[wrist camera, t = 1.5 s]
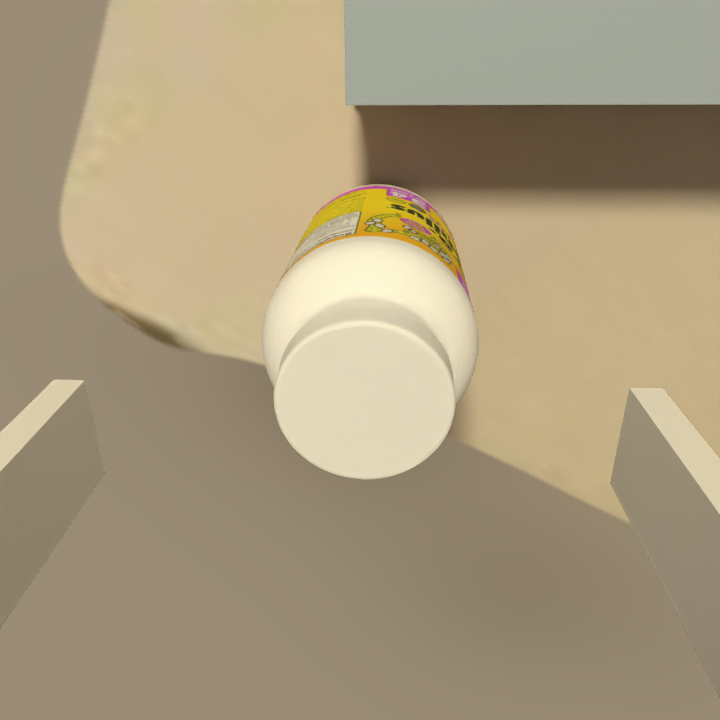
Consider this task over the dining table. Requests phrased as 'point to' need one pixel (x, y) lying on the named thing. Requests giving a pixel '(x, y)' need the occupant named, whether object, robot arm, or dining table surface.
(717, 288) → the dining table surface
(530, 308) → the dining table surface
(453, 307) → the supplement bottle
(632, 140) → the dining table surface
